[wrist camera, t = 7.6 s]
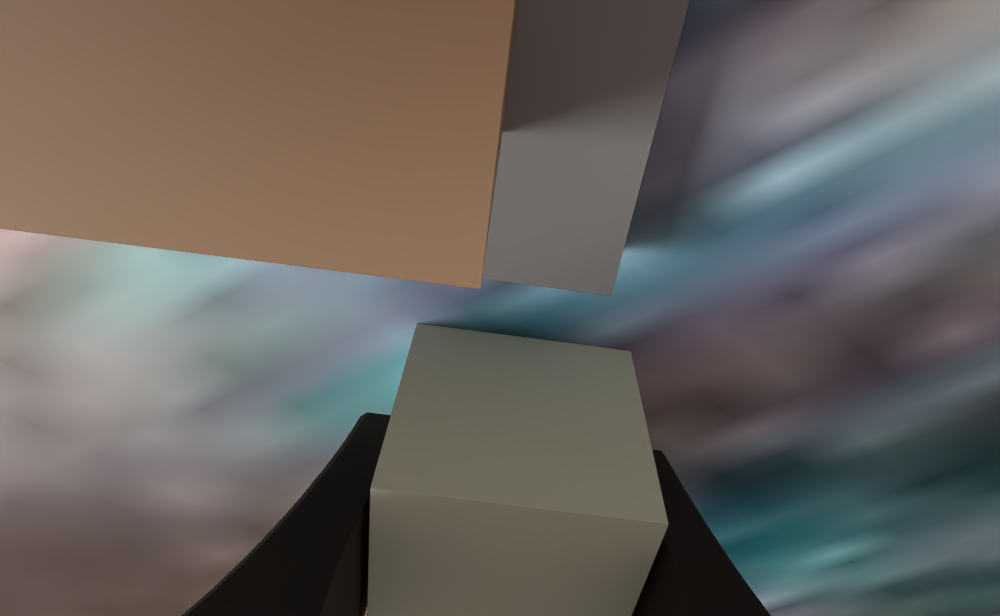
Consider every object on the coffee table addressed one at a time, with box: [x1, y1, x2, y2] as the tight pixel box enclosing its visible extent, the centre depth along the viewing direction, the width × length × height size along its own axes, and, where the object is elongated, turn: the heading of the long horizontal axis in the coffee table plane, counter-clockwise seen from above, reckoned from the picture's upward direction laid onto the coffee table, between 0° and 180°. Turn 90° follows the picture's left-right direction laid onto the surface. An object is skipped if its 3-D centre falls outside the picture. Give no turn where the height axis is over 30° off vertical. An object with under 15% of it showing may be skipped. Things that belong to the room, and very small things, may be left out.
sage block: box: [367, 323, 668, 616], centre depth 11 cm, size 4×4×4 cm
